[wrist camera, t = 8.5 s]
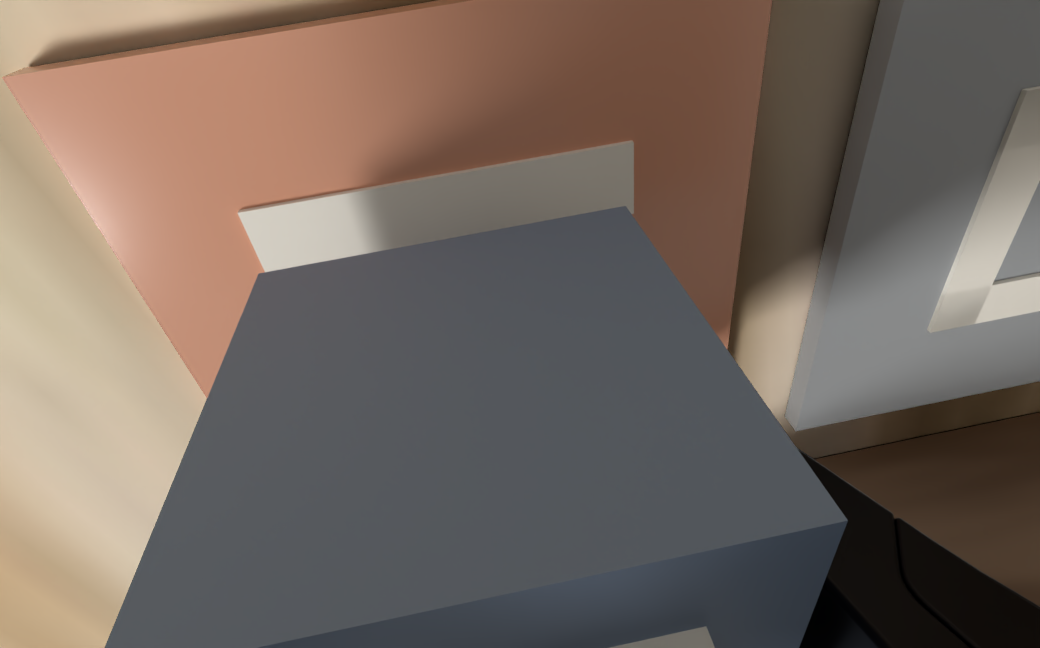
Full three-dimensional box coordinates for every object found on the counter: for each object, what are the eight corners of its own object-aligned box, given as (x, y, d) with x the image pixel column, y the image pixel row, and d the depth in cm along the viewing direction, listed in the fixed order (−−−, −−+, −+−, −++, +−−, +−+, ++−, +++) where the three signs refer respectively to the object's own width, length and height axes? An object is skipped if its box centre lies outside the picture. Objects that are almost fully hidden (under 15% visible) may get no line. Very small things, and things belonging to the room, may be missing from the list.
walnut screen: (1118, 436, 17) (1539, 756, 11) (586, 549, 16) (699, 965, 10) (1155, 388, 16) (1655, 717, 9) (583, 507, 15) (708, 951, 9)
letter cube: (628, 446, 11) (762, 782, 7) (366, 500, 11) (337, 883, 6) (625, 206, 8) (867, 548, 4) (258, 273, 8) (75, 718, 3)
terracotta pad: (706, 432, 14) (716, 451, 14) (297, 515, 14) (293, 538, 13) (760, -53, 8) (783, -50, 7) (24, 68, 7) (-4, 79, 7)
